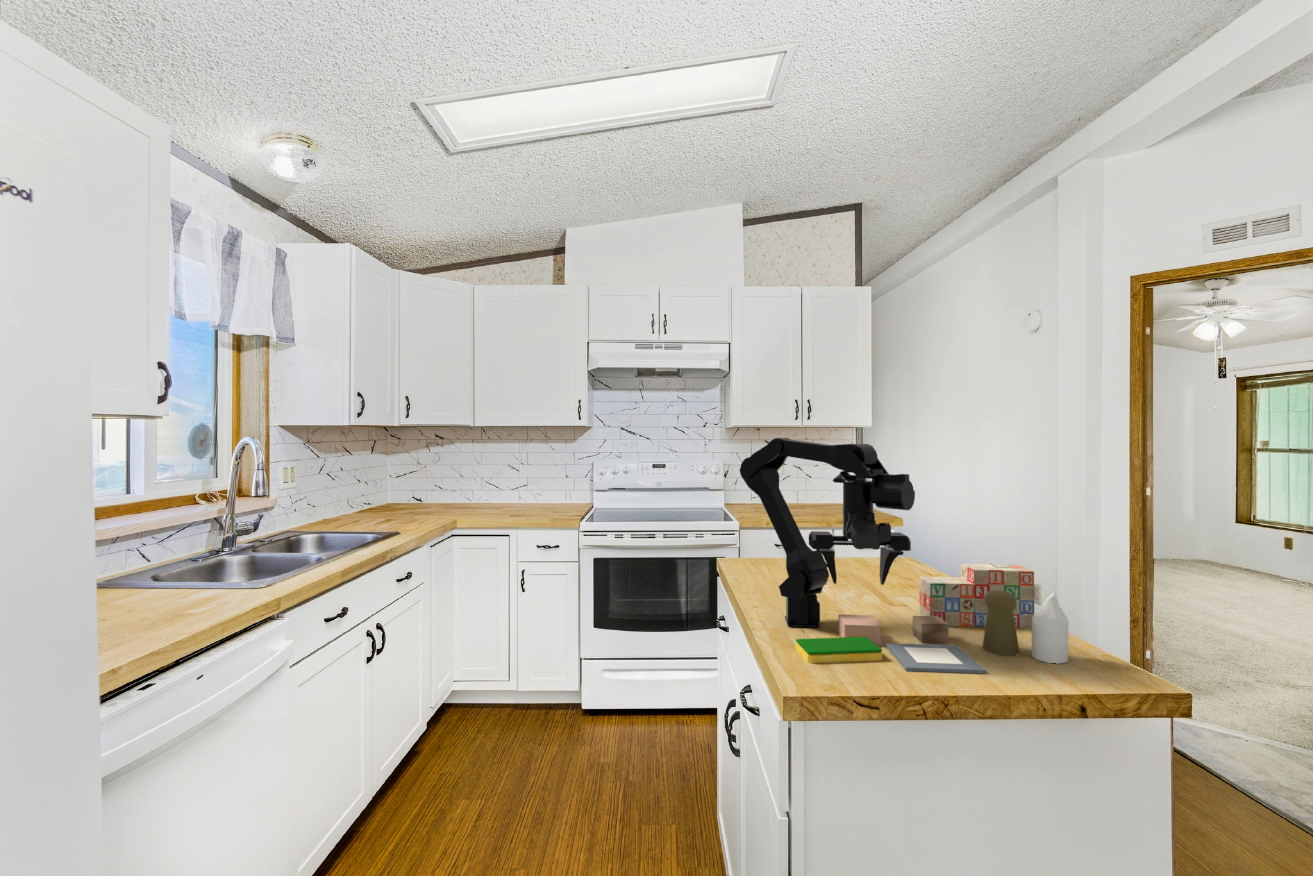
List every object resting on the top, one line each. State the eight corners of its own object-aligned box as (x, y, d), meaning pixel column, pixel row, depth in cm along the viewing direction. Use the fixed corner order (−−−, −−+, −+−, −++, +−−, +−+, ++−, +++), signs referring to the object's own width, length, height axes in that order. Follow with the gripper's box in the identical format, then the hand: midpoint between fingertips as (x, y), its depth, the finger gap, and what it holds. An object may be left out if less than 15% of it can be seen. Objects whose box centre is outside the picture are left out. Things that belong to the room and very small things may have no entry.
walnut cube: (921, 644, 112) (921, 623, 112) (912, 635, 117) (912, 615, 117) (948, 644, 112) (948, 624, 112) (938, 636, 117) (938, 616, 117)
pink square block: (844, 645, 112) (844, 624, 112) (838, 633, 119) (838, 614, 119) (881, 646, 111) (880, 626, 111) (872, 634, 118) (872, 615, 118)
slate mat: (905, 670, 99) (905, 666, 99) (885, 646, 110) (885, 642, 110) (985, 673, 97) (985, 669, 97) (956, 648, 109) (956, 644, 109)
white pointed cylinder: (1029, 586, 108) (1065, 590, 105) (1030, 650, 108) (1066, 655, 105) (1032, 594, 103) (1070, 597, 100) (1033, 661, 103) (1071, 666, 100)
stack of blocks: (929, 626, 123) (929, 568, 123) (919, 617, 129) (918, 562, 129) (1035, 629, 121) (1034, 570, 121) (1019, 619, 127) (1018, 564, 127)
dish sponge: (883, 662, 104) (883, 649, 104) (808, 665, 102) (808, 652, 102) (865, 648, 111) (865, 636, 111) (795, 651, 109) (795, 638, 109)
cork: (1014, 646, 110) (1014, 588, 110) (1023, 657, 104) (1023, 596, 105) (979, 642, 112) (978, 586, 112) (986, 653, 106) (985, 594, 106)
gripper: (817, 510, 108) (817, 593, 108) (920, 511, 106) (921, 595, 106) (808, 504, 119) (808, 579, 119) (901, 504, 117) (901, 581, 117)
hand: (858, 583), depth 115 cm, fingers open, 9 cm apart
